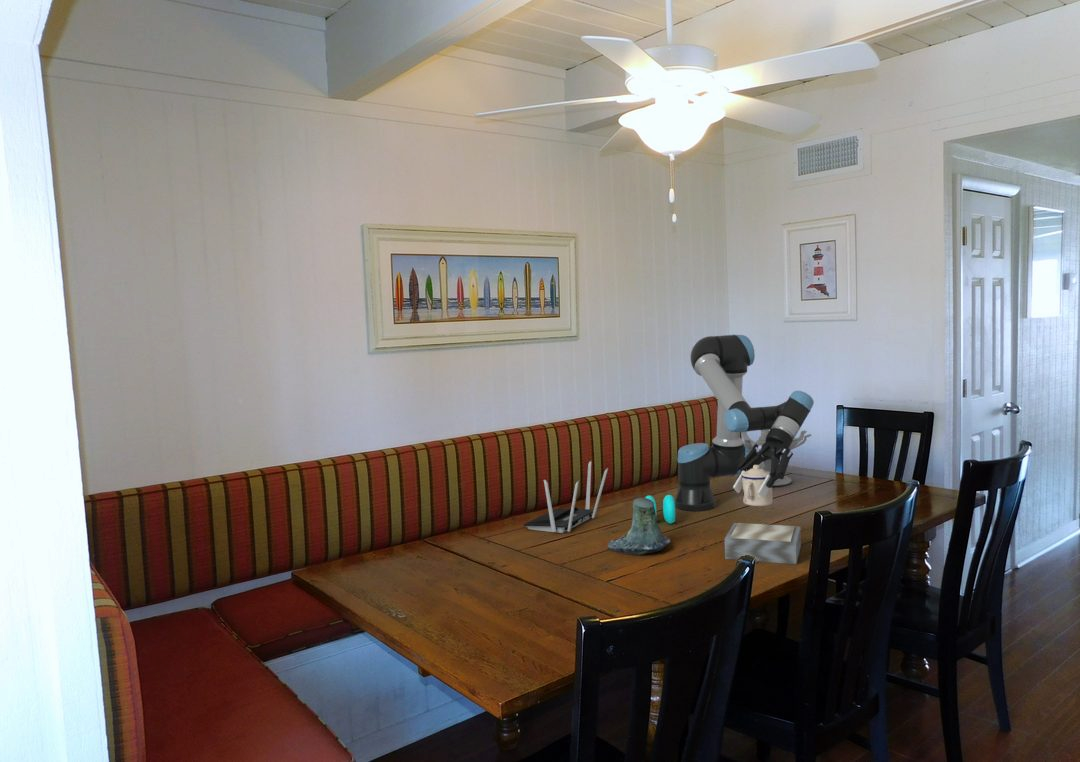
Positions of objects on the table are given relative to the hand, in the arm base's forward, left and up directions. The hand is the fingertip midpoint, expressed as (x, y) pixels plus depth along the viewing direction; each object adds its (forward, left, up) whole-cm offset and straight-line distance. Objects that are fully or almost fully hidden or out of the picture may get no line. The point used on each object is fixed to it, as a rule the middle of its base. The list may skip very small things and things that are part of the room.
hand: (748, 492), depth 229 cm
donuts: (-34, +25, -18) cm, 46 cm away
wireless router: (-65, +15, -18) cm, 69 cm away
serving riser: (+4, 0, -18) cm, 19 cm away
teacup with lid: (+2, +2, -4) cm, 5 cm away
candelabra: (-5, +97, -18) cm, 99 cm away
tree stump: (-33, -4, -18) cm, 38 cm away
